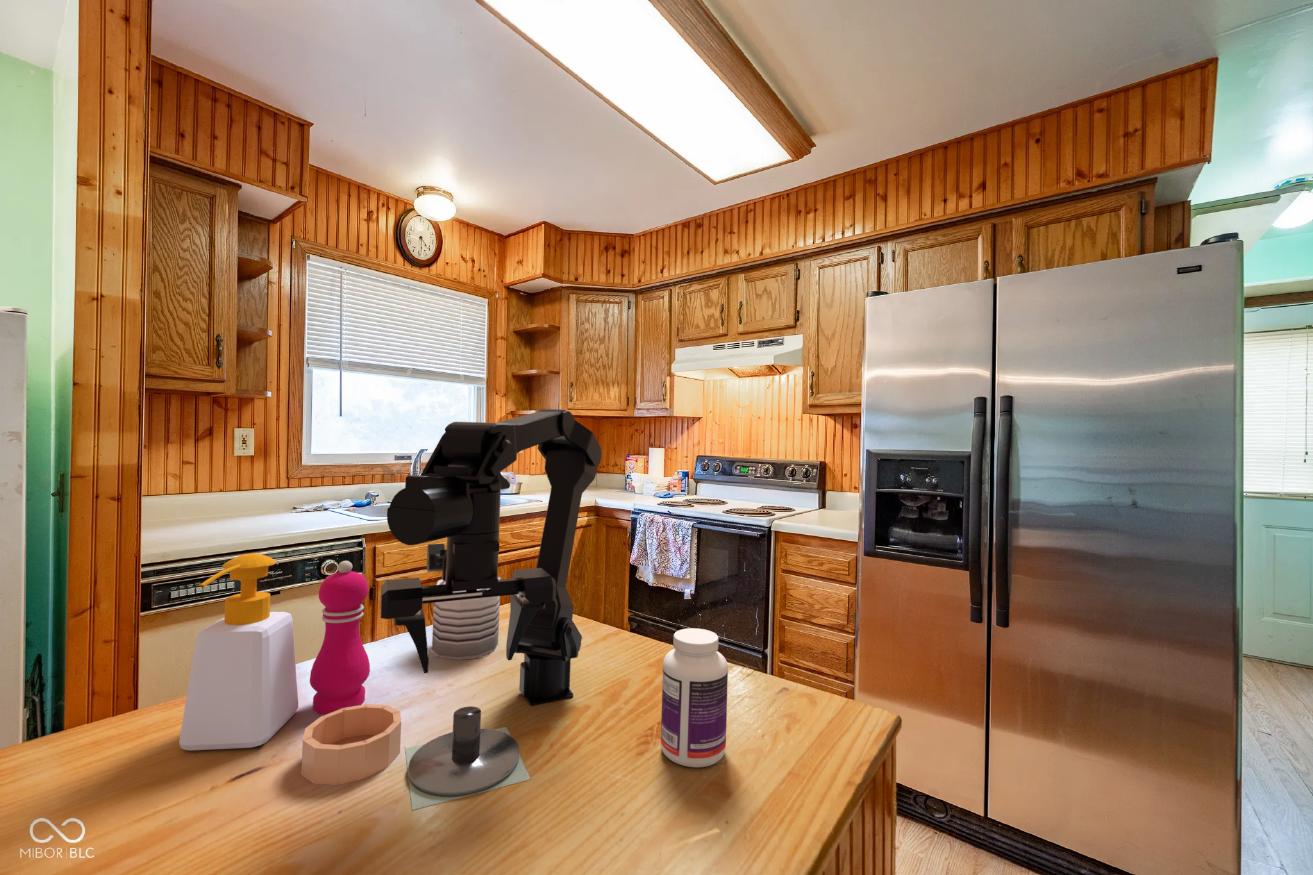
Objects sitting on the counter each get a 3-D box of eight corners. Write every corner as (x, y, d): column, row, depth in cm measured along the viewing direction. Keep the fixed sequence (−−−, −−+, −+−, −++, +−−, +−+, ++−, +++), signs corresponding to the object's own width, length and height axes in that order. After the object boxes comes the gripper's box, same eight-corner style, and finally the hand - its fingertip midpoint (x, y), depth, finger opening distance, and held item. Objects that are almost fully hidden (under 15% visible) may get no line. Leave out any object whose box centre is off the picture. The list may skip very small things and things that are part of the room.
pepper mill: (341, 721, 71) (348, 568, 71) (294, 714, 72) (301, 564, 73) (380, 696, 78) (386, 557, 78) (336, 690, 80) (342, 553, 80)
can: (512, 645, 99) (514, 579, 99) (460, 665, 90) (463, 593, 90) (469, 631, 105) (472, 569, 105) (417, 649, 96) (420, 581, 96)
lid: (506, 726, 71) (508, 682, 71) (530, 779, 60) (532, 726, 60) (405, 748, 65) (407, 699, 65) (412, 810, 54) (414, 752, 55)
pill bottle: (731, 742, 69) (735, 630, 70) (717, 778, 62) (722, 652, 62) (671, 729, 72) (674, 621, 72) (650, 762, 65) (655, 641, 65)
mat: (506, 729, 71) (506, 726, 71) (530, 781, 60) (530, 778, 60) (405, 750, 65) (405, 748, 65) (412, 812, 54) (412, 809, 54)
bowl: (397, 729, 70) (398, 698, 70) (401, 772, 61) (402, 736, 61) (307, 747, 65) (308, 713, 65) (297, 796, 56) (299, 757, 56)
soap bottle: (142, 779, 58) (151, 571, 58) (224, 714, 72) (231, 546, 72) (241, 774, 60) (250, 571, 60) (302, 711, 73) (309, 546, 73)
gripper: (535, 517, 74) (530, 631, 74) (382, 522, 66) (377, 652, 66) (559, 531, 64) (555, 662, 64) (383, 539, 56) (378, 691, 56)
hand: (468, 665), depth 63 cm, fingers open, 9 cm apart
